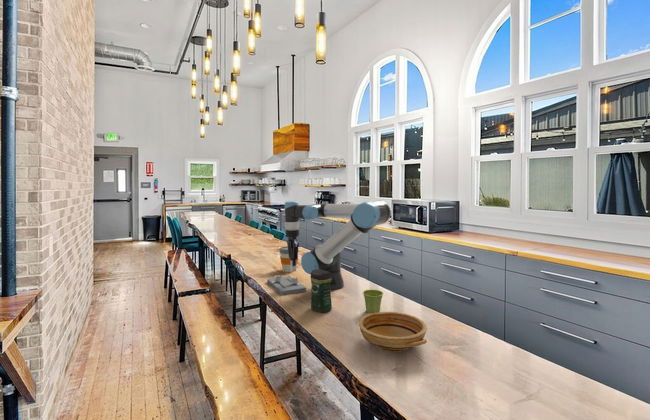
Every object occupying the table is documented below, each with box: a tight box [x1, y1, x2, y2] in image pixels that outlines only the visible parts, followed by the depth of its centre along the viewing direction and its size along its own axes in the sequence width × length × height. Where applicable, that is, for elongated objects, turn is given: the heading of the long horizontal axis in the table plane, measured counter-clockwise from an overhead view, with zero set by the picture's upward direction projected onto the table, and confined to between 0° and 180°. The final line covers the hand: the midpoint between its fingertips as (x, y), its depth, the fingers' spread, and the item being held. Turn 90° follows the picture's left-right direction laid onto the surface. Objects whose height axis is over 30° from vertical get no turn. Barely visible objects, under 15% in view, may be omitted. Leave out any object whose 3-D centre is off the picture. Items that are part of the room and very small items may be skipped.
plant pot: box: [362, 289, 384, 314], centre depth 163 cm, size 9×9×9 cm
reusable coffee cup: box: [279, 245, 299, 273], centre depth 238 cm, size 13×13×15 cm
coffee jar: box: [310, 269, 332, 313], centre depth 166 cm, size 10×8×19 cm
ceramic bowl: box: [358, 311, 428, 353], centre depth 130 cm, size 30×24×8 cm
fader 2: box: [291, 276, 299, 285], centre depth 199 cm, size 2×3×3 cm, turn 115°
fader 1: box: [273, 274, 282, 282], centre depth 204 cm, size 2×3×3 cm, turn 116°
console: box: [266, 275, 307, 296], centre depth 202 cm, size 26×14×2 cm, turn 25°
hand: (293, 271), depth 201 cm, fingers closed
